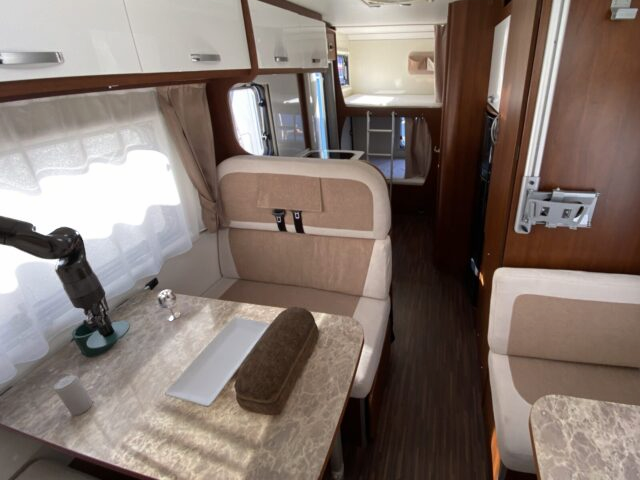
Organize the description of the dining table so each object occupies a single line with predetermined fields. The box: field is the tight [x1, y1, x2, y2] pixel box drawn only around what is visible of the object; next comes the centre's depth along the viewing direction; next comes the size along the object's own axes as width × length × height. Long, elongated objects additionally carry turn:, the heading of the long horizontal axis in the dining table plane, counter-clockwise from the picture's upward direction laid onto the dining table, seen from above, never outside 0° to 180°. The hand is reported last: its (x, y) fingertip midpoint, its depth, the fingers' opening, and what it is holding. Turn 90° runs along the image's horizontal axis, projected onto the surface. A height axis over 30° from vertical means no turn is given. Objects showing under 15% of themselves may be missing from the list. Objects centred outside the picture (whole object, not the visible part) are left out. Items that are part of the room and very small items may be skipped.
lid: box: [87, 315, 131, 349], centre depth 99 cm, size 11×11×8 cm
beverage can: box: [53, 373, 94, 416], centre depth 89 cm, size 5×5×12 cm
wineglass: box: [157, 288, 181, 321], centre depth 122 cm, size 6×6×12 cm
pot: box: [70, 322, 119, 358], centre depth 110 cm, size 10×10×10 cm
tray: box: [164, 316, 271, 408], centre depth 103 cm, size 17×32×4 cm, turn 166°
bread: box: [233, 306, 319, 416], centre depth 98 cm, size 15×32×16 cm, turn 168°
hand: (106, 329), depth 99 cm, fingers closed on lid, 3 cm apart
